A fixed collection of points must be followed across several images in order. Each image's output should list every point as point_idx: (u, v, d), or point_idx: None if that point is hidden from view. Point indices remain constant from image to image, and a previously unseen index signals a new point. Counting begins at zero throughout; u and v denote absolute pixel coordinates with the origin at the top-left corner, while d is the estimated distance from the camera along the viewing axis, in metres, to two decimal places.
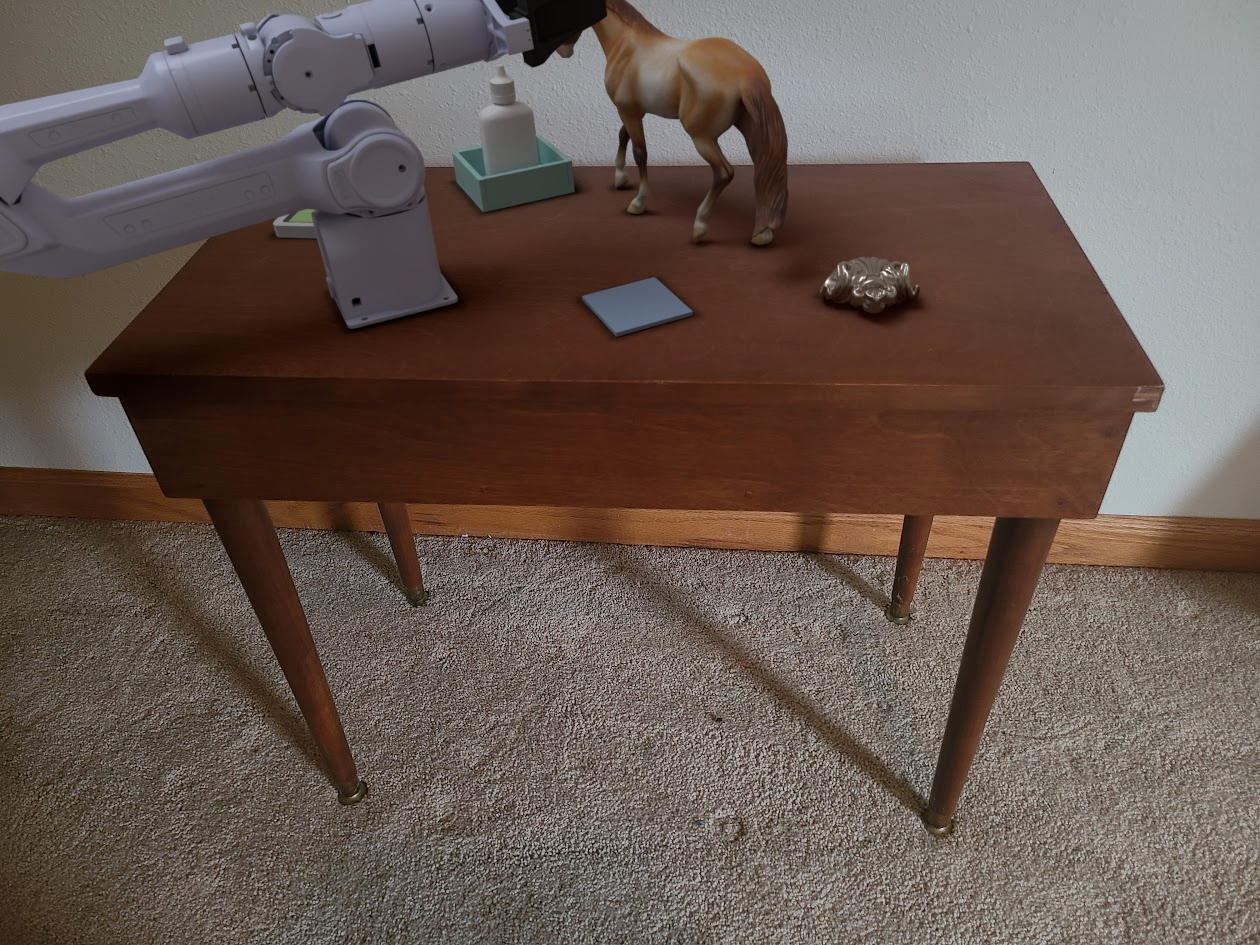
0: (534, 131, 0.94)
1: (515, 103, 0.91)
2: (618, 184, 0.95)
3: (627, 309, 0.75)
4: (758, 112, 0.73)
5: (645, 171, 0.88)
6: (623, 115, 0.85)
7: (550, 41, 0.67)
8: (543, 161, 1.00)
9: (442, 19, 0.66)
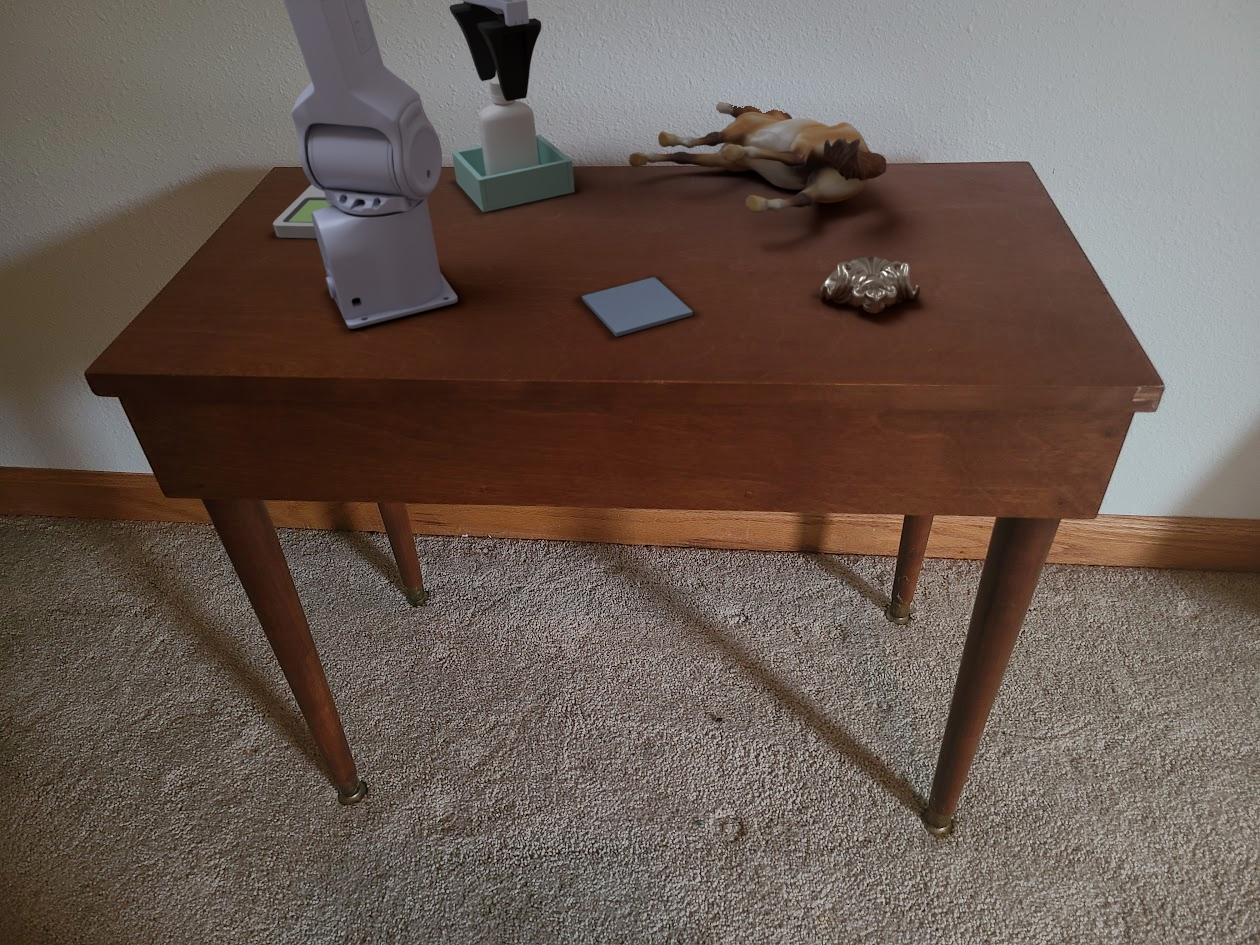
0: (534, 131, 0.94)
1: (515, 103, 0.91)
2: (638, 153, 0.94)
3: (627, 309, 0.75)
4: None
5: (705, 141, 0.90)
6: (736, 123, 0.94)
7: (501, 45, 0.83)
8: (543, 161, 1.00)
9: None
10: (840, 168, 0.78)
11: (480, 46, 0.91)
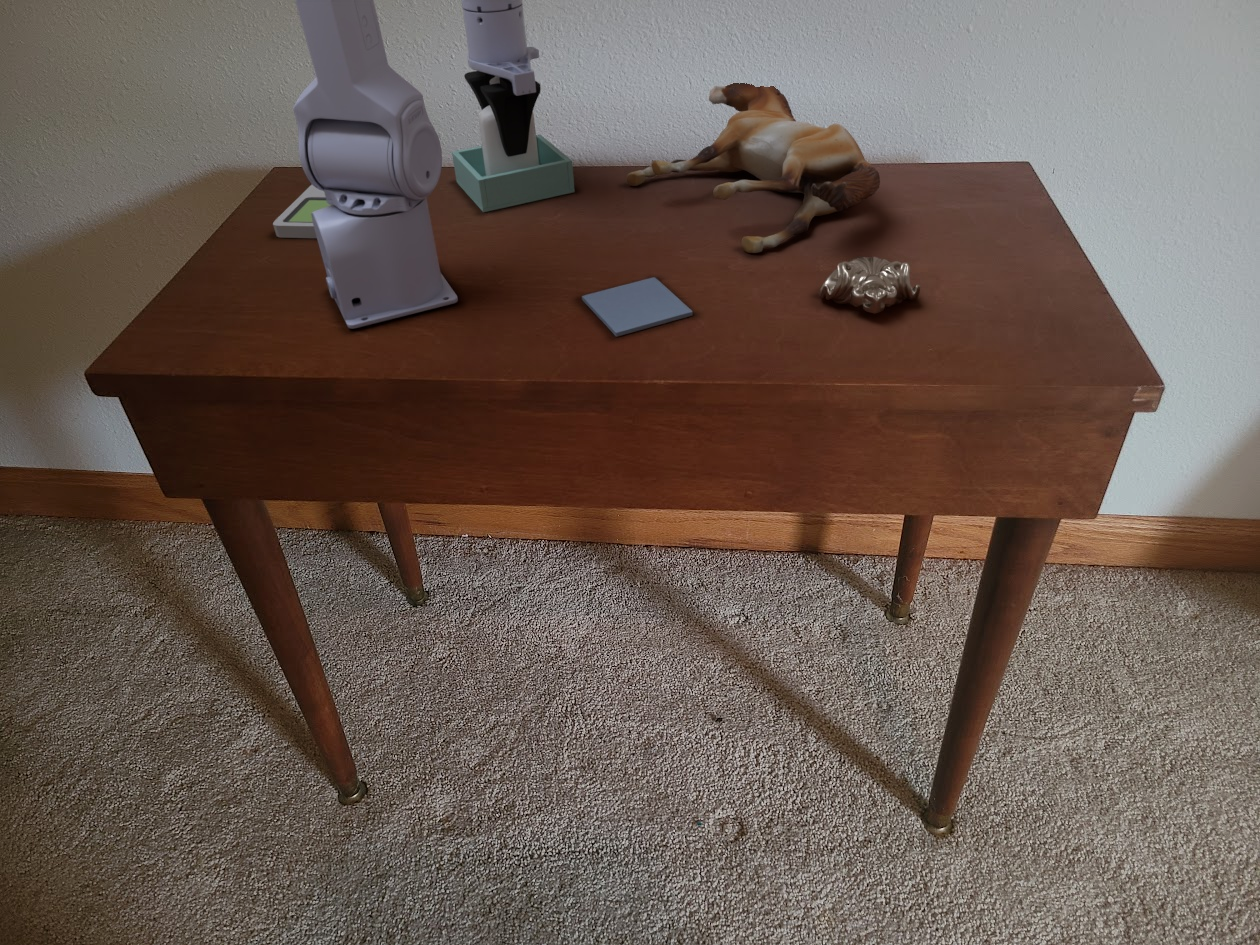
0: (534, 131, 0.94)
1: None
2: (634, 173, 0.95)
3: (627, 309, 0.75)
4: (869, 170, 0.84)
5: (699, 161, 0.91)
6: (728, 130, 0.93)
7: (503, 107, 0.88)
8: (543, 161, 1.00)
9: (515, 24, 0.85)
10: (830, 206, 0.79)
11: None
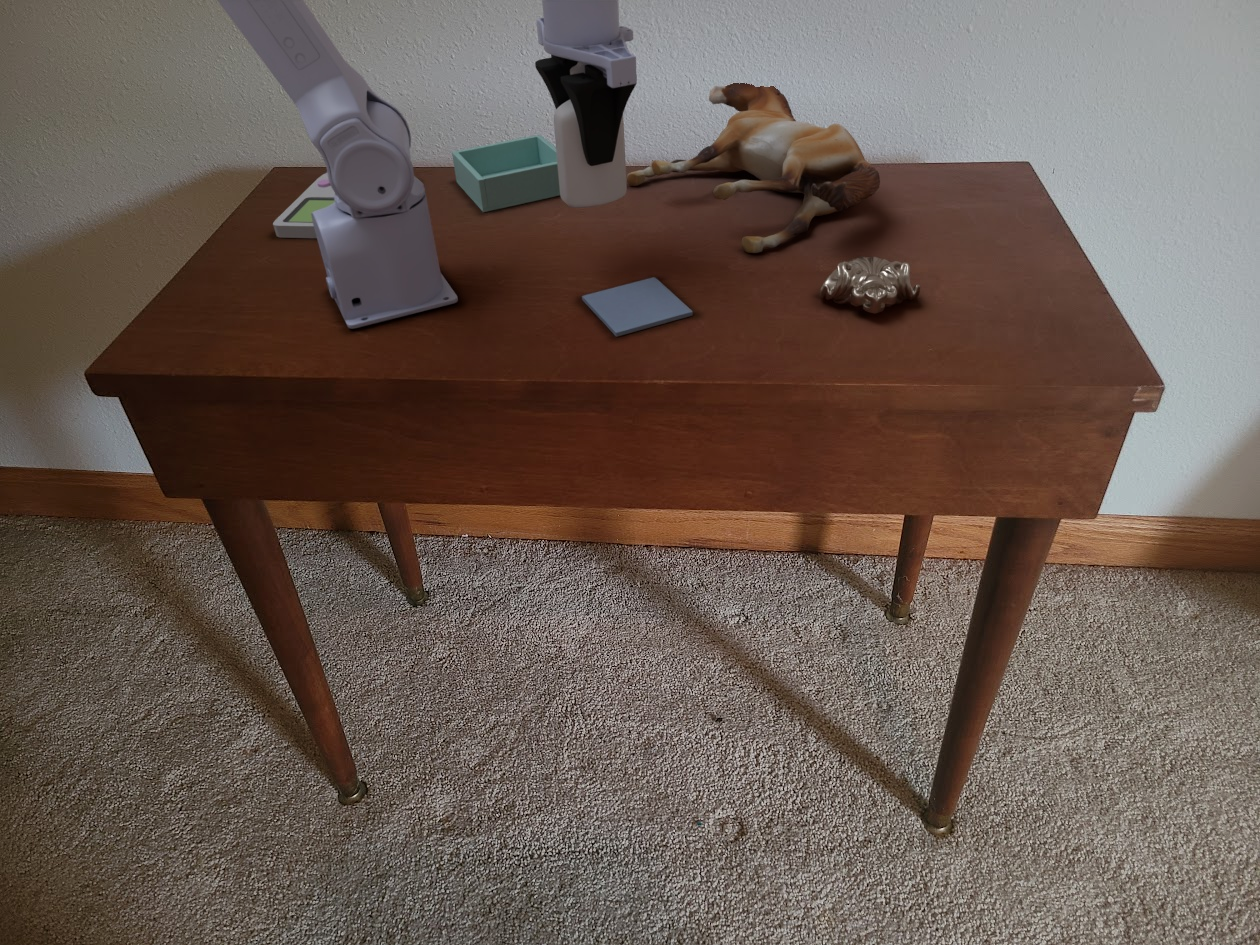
0: (623, 133, 0.74)
1: None
2: (634, 173, 0.95)
3: (627, 309, 0.75)
4: (869, 170, 0.84)
5: (699, 161, 0.91)
6: (728, 130, 0.93)
7: (590, 103, 0.69)
8: (543, 161, 1.00)
9: None
10: (830, 206, 0.79)
11: None
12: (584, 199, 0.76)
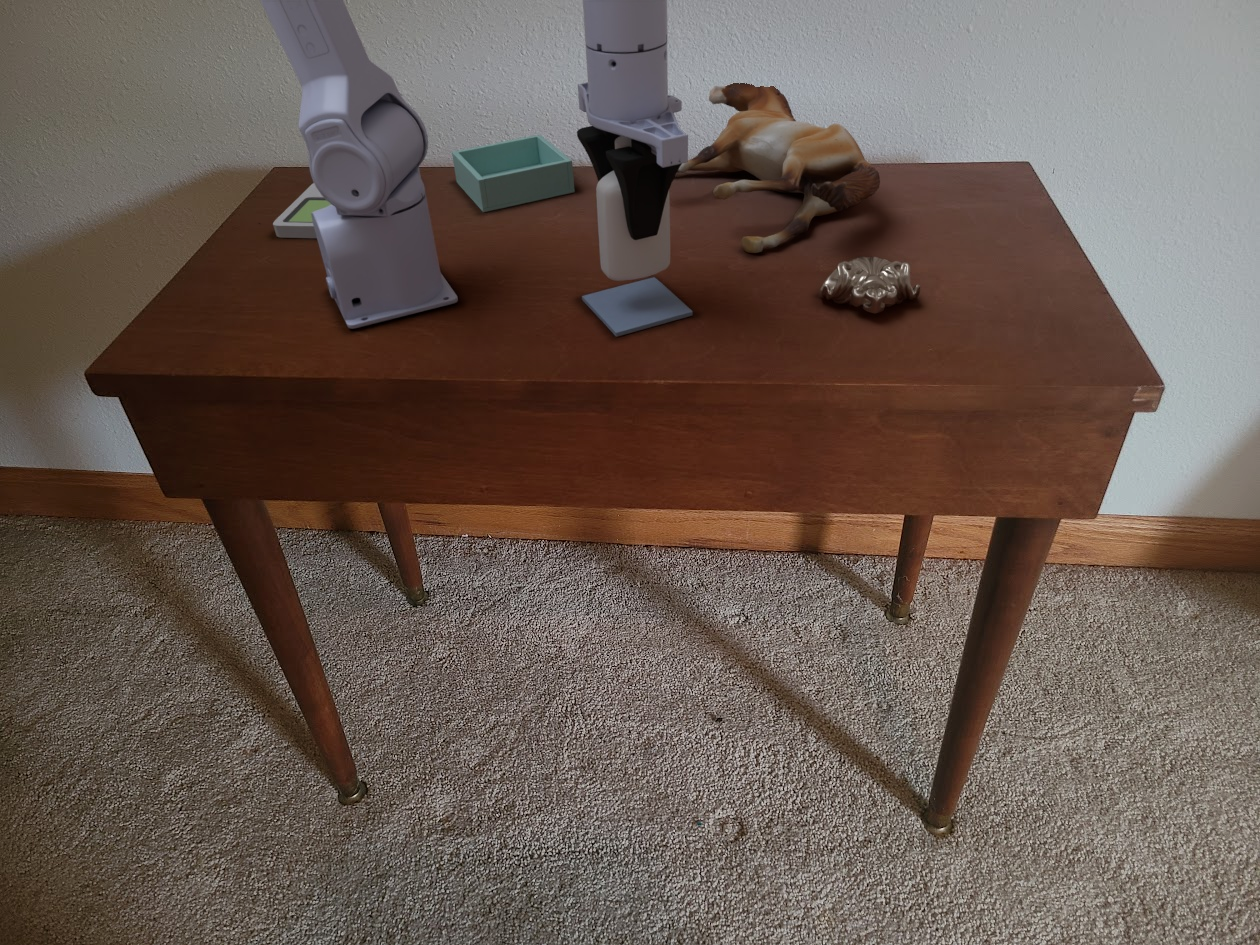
0: (668, 205, 0.71)
1: None
2: None
3: (627, 309, 0.75)
4: (869, 170, 0.84)
5: (699, 161, 0.91)
6: (728, 130, 0.93)
7: (636, 179, 0.65)
8: (543, 161, 1.00)
9: (658, 68, 0.62)
10: (830, 206, 0.79)
11: None
12: (626, 272, 0.72)
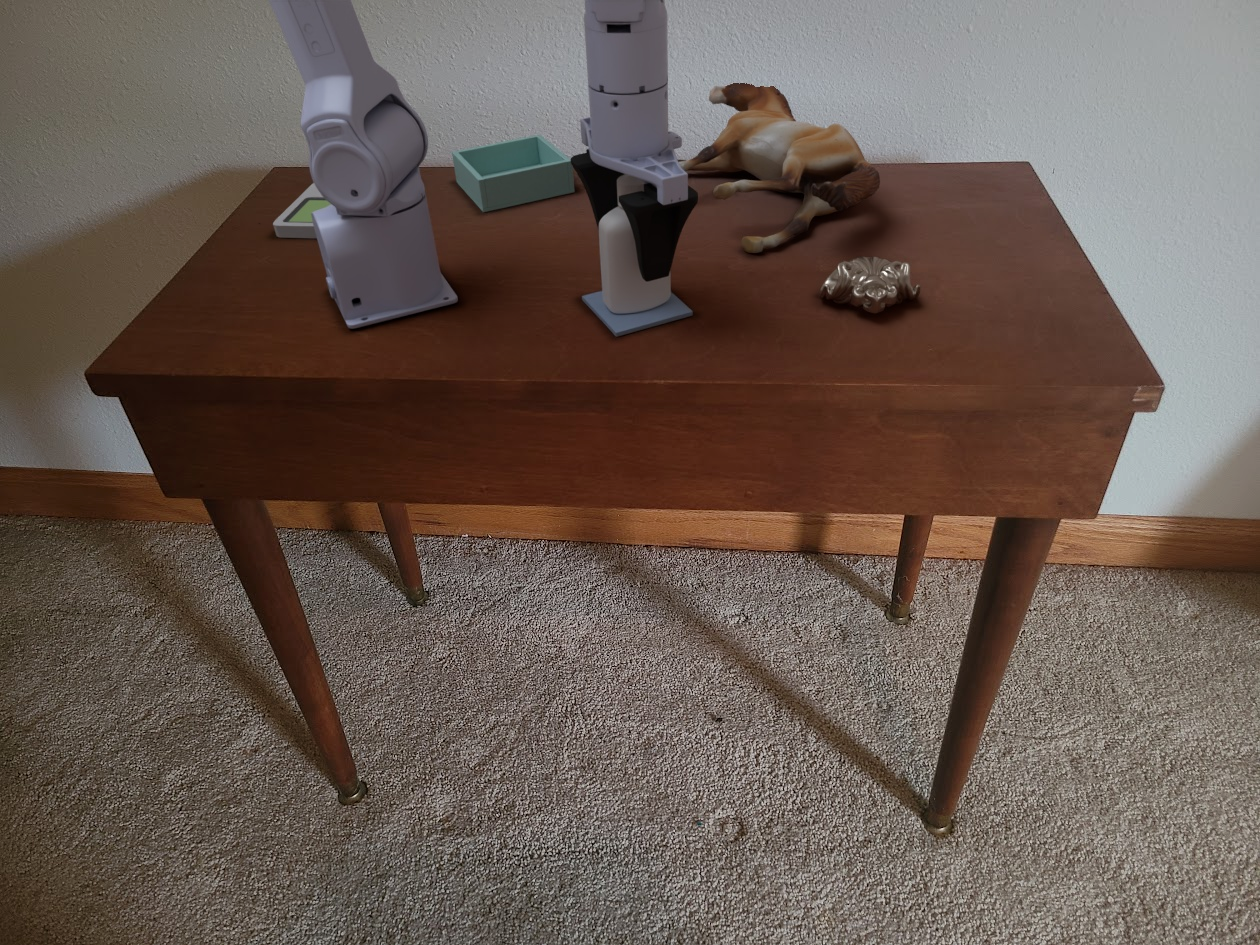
0: None
1: None
2: None
3: None
4: (869, 170, 0.84)
5: (699, 161, 0.91)
6: (728, 130, 0.93)
7: (649, 223, 0.66)
8: (543, 161, 1.00)
9: (659, 108, 0.64)
10: (830, 206, 0.79)
11: (606, 205, 0.74)
12: (628, 306, 0.74)
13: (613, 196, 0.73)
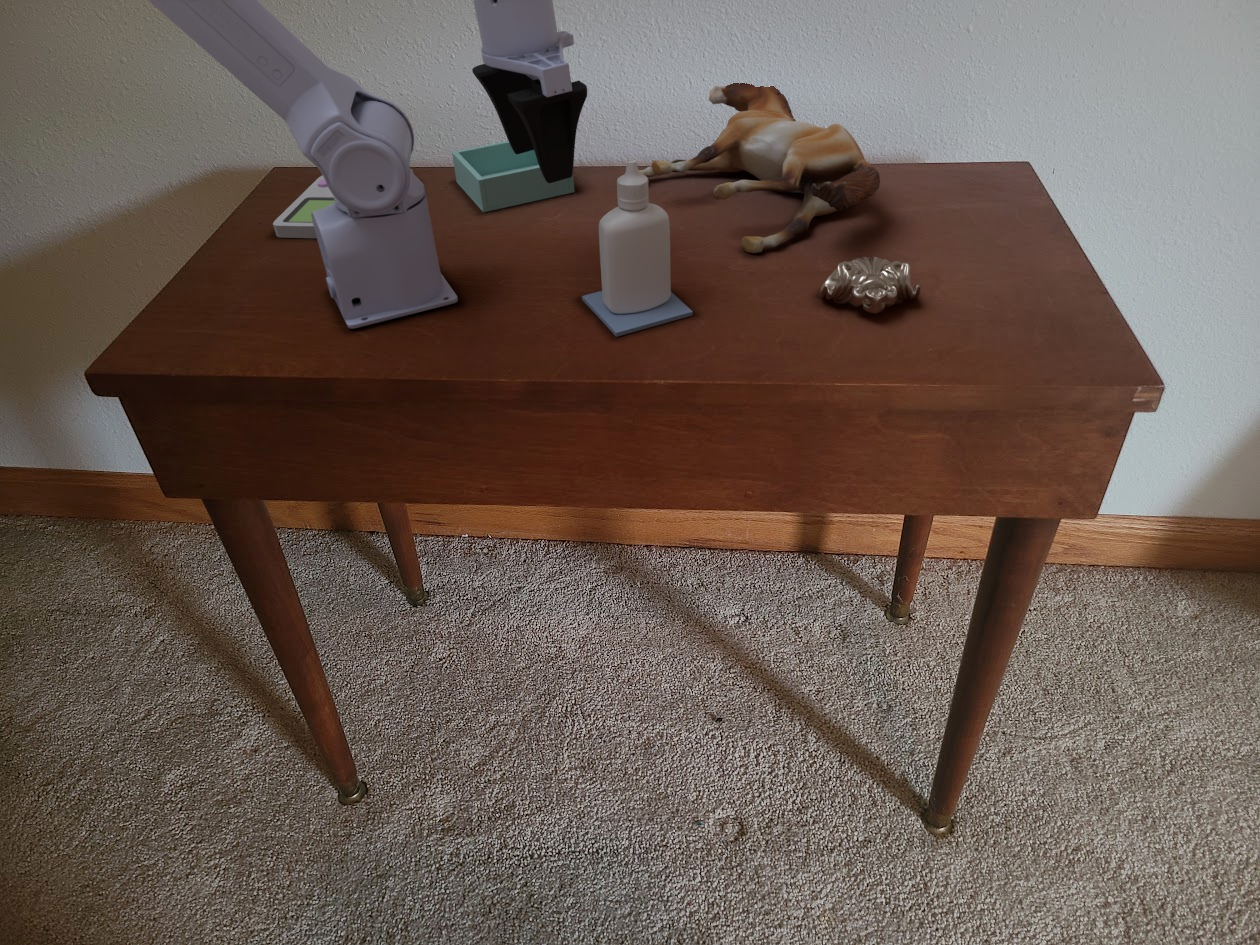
0: (668, 241, 0.72)
1: (648, 208, 0.70)
2: None
3: None
4: (869, 170, 0.84)
5: (699, 161, 0.91)
6: (728, 130, 0.93)
7: (539, 119, 0.66)
8: None
9: (540, 2, 0.64)
10: (830, 206, 0.79)
11: (512, 114, 0.74)
12: (628, 306, 0.74)
13: None
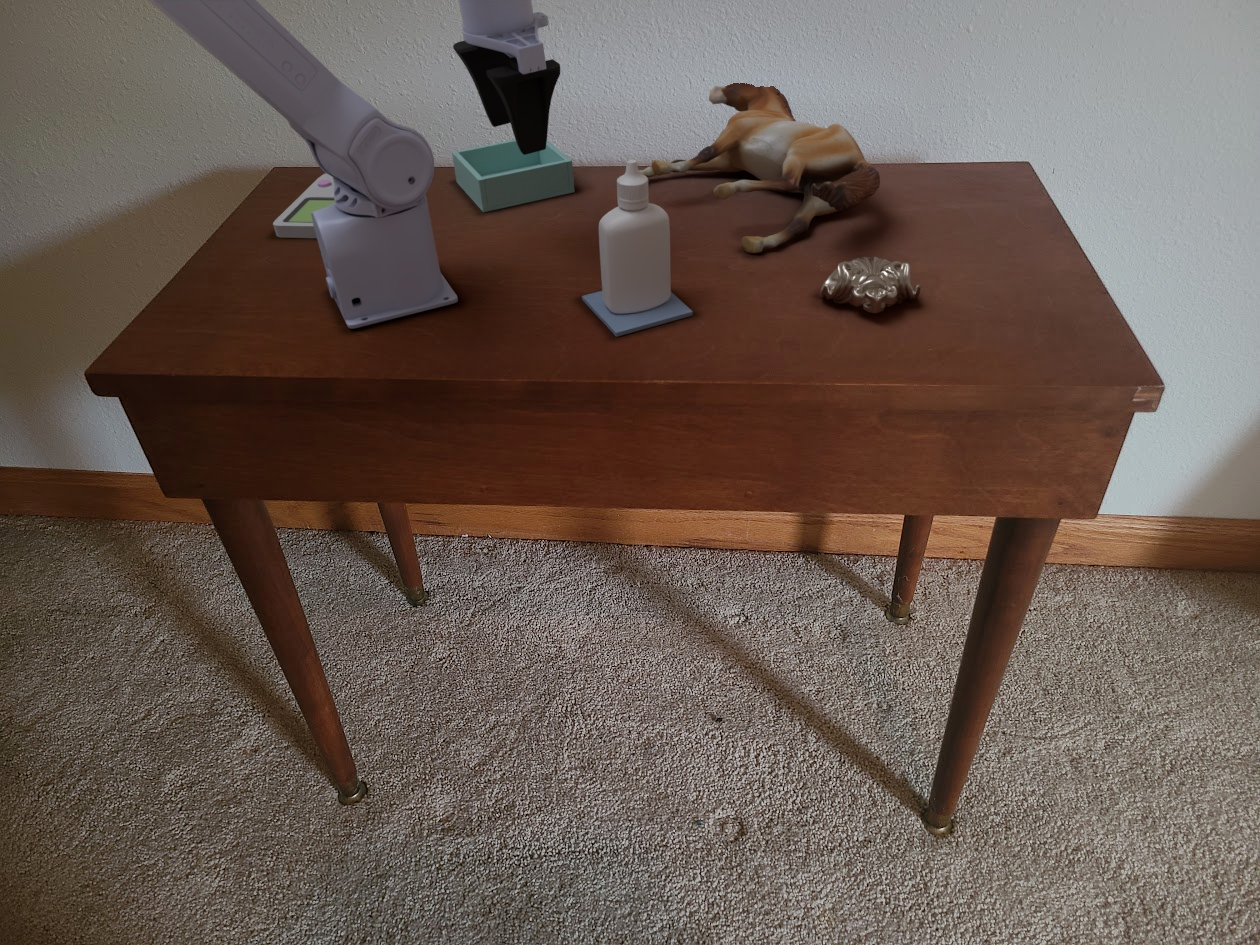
0: (668, 241, 0.72)
1: (648, 208, 0.70)
2: None
3: None
4: (869, 170, 0.84)
5: (699, 161, 0.91)
6: (728, 130, 0.93)
7: (515, 95, 0.71)
8: (543, 161, 1.00)
9: None
10: (830, 206, 0.79)
11: (490, 88, 0.79)
12: (628, 306, 0.74)
13: None
